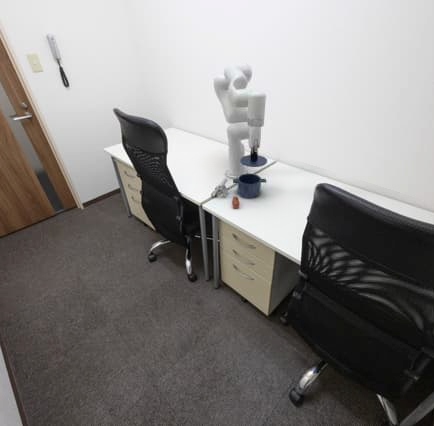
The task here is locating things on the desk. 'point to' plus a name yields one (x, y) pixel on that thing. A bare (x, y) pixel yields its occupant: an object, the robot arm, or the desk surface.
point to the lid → (247, 161)
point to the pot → (249, 185)
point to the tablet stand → (221, 186)
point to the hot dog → (235, 202)
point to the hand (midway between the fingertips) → (253, 159)
